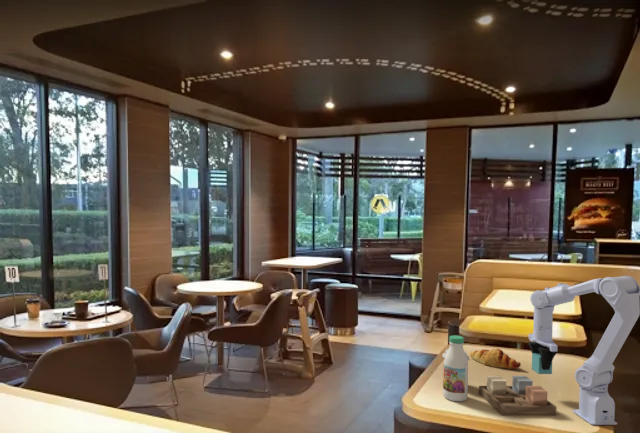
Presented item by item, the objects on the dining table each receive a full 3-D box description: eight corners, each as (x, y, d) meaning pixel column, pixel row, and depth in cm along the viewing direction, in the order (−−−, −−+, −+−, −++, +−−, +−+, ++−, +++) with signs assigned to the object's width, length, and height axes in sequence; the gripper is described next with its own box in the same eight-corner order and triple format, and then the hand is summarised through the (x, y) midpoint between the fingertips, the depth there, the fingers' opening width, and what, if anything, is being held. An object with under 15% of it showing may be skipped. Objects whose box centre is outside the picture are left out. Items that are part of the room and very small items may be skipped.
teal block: (551, 374, 153) (552, 357, 153) (538, 374, 153) (539, 357, 153) (544, 369, 158) (545, 353, 158) (531, 369, 158) (532, 353, 158)
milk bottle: (448, 390, 158) (450, 332, 158) (470, 397, 153) (472, 336, 153) (438, 397, 152) (440, 336, 152) (461, 404, 147) (463, 341, 147)
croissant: (466, 367, 194) (462, 352, 191) (476, 352, 200) (472, 337, 197) (517, 380, 179) (514, 364, 176) (526, 363, 185) (523, 347, 182)
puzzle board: (556, 415, 141) (556, 393, 141) (501, 415, 140) (502, 393, 140) (527, 393, 158) (528, 374, 158) (478, 393, 157) (479, 373, 157)
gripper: (520, 321, 162) (519, 359, 162) (542, 331, 148) (541, 374, 148) (540, 321, 163) (539, 359, 163) (564, 332, 148) (563, 374, 148)
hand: (541, 366), depth 155 cm, fingers closed on teal block, 4 cm apart
